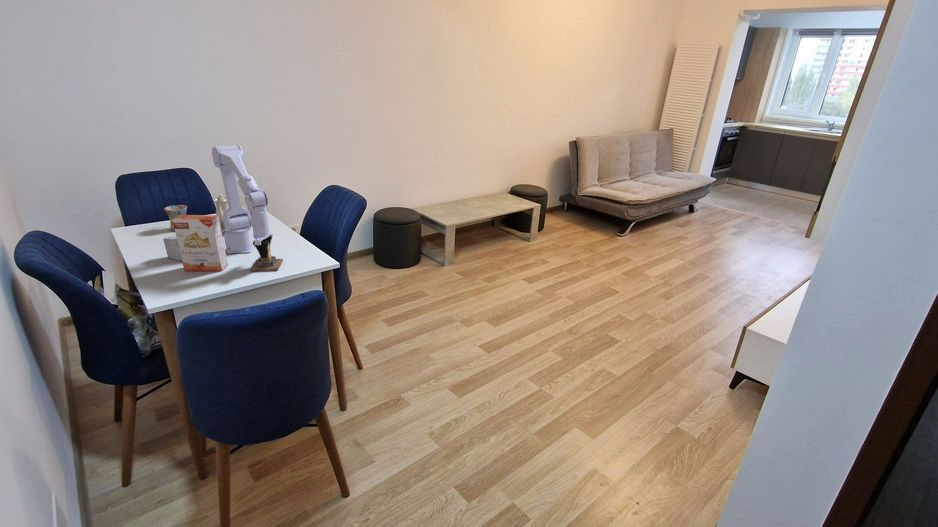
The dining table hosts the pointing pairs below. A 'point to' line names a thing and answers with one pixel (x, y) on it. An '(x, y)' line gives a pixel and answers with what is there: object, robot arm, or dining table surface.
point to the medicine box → (172, 248)
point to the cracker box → (200, 242)
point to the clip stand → (266, 265)
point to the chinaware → (221, 209)
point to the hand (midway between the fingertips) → (265, 256)
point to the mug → (175, 213)
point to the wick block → (267, 255)
